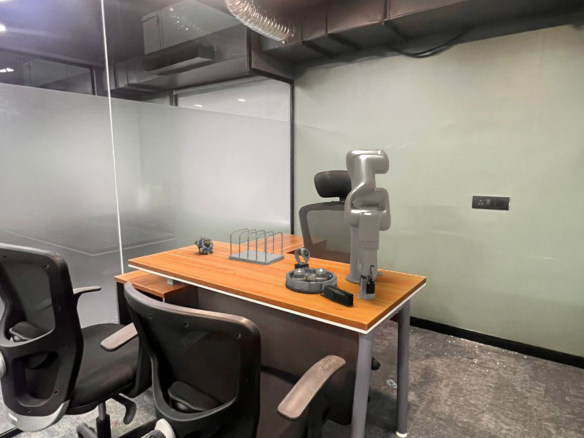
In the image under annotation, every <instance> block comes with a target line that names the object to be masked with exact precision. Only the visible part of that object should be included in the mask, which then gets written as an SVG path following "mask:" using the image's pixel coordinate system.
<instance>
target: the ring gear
mask: <svg viewBox="0 0 584 438" xmlns="http://www.w3.org/2000/svg"><path fill="white" fill-rule="evenodd" d="M302 269H304V270H305V276H308V275H310V274H316V269H317V268H315V267H313V268H312V267H311V268H310V267H309V268H302ZM326 270H327V269H326ZM326 275H327V276H328V279H331V280H327V281H323V282H303V281H297V280H295V279H292V276H294V269H292V270H290V271H288V272H287V273H286V274H285V283H286V282H287V285H288V286H291V287H293V288H295V289H301V290H307V291H313V290H324V286H326V285H333V286H335V285H336V284H337V285H338V276H337V275H336V274H335V272H334V271H330V270H327V272H326Z"/></svg>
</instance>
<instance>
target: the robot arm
mask: <svg viewBox="0 0 584 438" xmlns="http://www.w3.org/2000/svg"><path fill="white" fill-rule="evenodd" d="M345 166H346V167H345V168H346V169H347V170H346V171H347V173H348V176H349V178H350V182H351V191H349V193H348V194H347V196H346V197H345V198H346V199H345V200H344V201H345V202H344V223H345V226H347V228H349V229H350V252H349V253H350V254H349V255H350V256H349V260H350V261H349V274H347V275H345V279H346V280H347V281H348V282H350V283H353V284H359V285H360V283H361V277H363V276H366V277H367V283H366V294H374V293H375V292H376V279H377V277H383V274H384V273H383V271H378V250H379V247H380V242H379V241H380V232H385V231H388V230H389V229H390V228H391V225H392V216H391V207H390V206H391V205H390V196H389V192H388V190H387V189H386V188H384V187H377V183H376V182H377V181H376V175H385V174H387V173H388V172H389V170H390V159H389V157H388V154H387V153H386V152H385V150H383V149H380V148H379V149H377V148H376V149H373V148H371V149H365V148H363V149H361V148H360V149H359V148H358V149H357V148H356V149H352V150H349V151H348V152H347V153H346V155H345ZM352 205H353V206H354V207H355V208H353V207H352ZM369 277H371V278H370V280H369ZM375 294H376V293H375Z"/></svg>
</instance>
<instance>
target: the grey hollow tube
mask: <svg viewBox="0 0 584 438" xmlns="http://www.w3.org/2000/svg"><path fill="white" fill-rule="evenodd" d="M370 278H371V277H369V280H370ZM366 283H367V277H366V276H363V277H361V283H360V284H359V288H360V289H359V291H358V293H357V297H358V298H359V299H361V300H365V301H370V300H371V301H373V300H374V299H376V293H374V294H366Z"/></svg>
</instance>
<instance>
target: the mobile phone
mask: <svg viewBox="0 0 584 438" xmlns="http://www.w3.org/2000/svg"><path fill="white" fill-rule="evenodd" d="M319 294H320V296H321V297H324V298H327V299H329V300H331V301H334V302H337V303H338V304H339V305H340V304H341V305H342V306H345V307H352V306H354V294H353V293H351V292H349V291H346V290H345V289H341V288H340V287H338V286H337V287H336V286H333V285H326V286H324V293H319Z"/></svg>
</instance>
